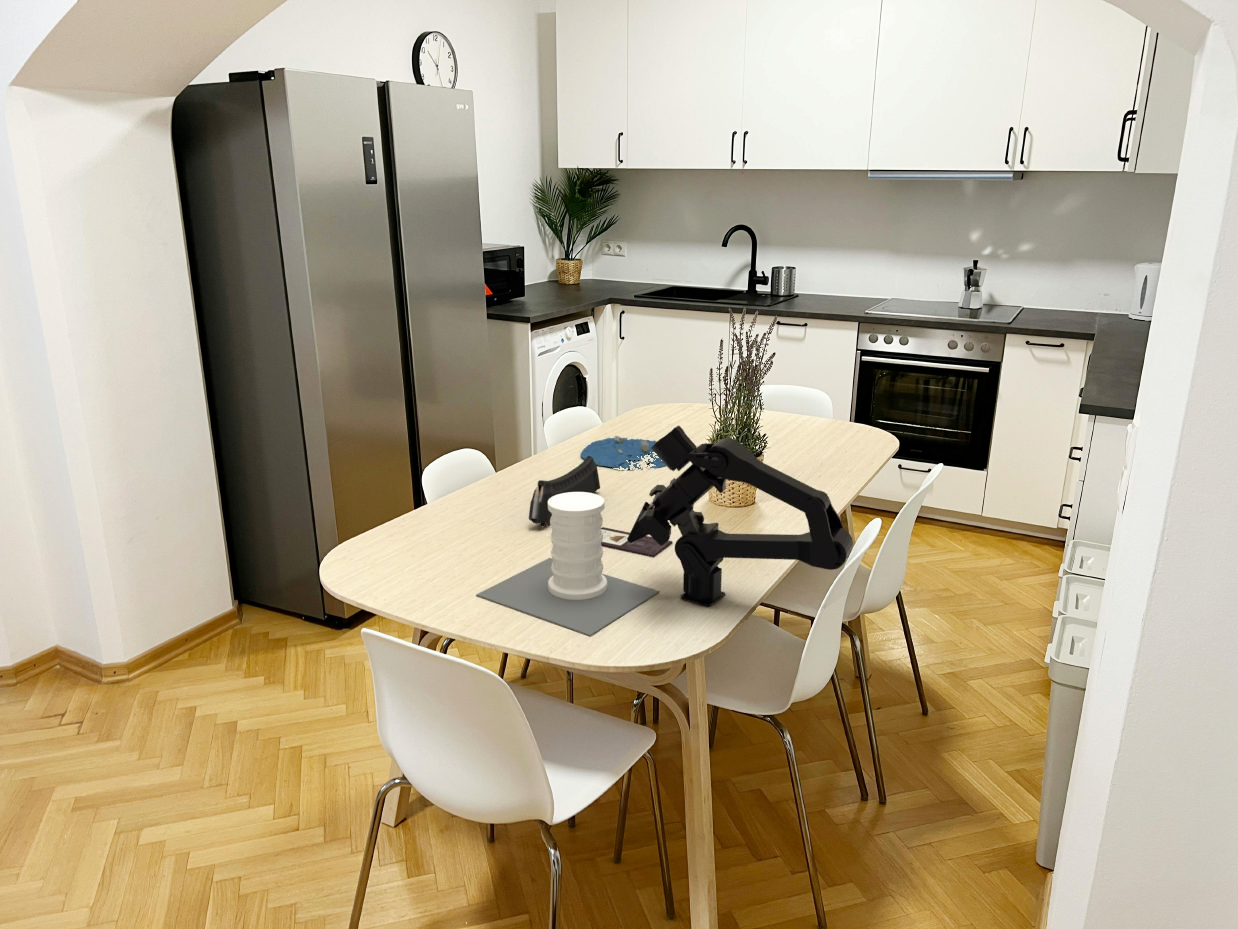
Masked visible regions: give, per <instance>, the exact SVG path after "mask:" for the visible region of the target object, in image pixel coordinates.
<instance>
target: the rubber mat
mask: <svg viewBox="0 0 1238 929" xmlns="http://www.w3.org/2000/svg"><path fill="white" fill-rule="evenodd" d="M552 563H553V558H552V557H549V558H547V559H544V560H543V561H540V562H538V563H536V564H534V565H532V566H530V567H528V568H526V569H525V570H522V571H520V572H518V573H516V574H514V575H512V576H511V577H509V578H506V579H504V580H502V581H501V582H498V583H497V584H494V585H493V586H490V587H489V588H487V589H485V590H482V591H480V592H479V593H478V592H477V593H476V594H475V596H476V597H478V598H481V599H483V600H487V601H490V602H492V603H495V604H498V605H501V606H502V607H506V608H509V609H512V610H515V611H517V612H520V613H523V614H526V615H527V616H528V615H529V616H531V617H535V618H538V619H541V620H543V621H546V622H548V623H551V624H553V625H557V626H560V627H562V628H566V629H568V630H571V631H573V632H577V633H578V634H579V633H580V634H582V635H586V636H587V637H592V636H593V635H595V634H596V633H598V632H600V631H602V630H603V629H604V628H606V627H608V626H609V625H611V624H612V623H614V622H616V621H617V620H619V619H620V618H622V617H623V616H625V615H627V614H628V613H629V612H631V611H633V610H634V609H636V608H637V607H639V606H641V605H642V604H644V603H645V602H648V600H650V599H652V598H653V597H655V596H656V595H658V594H660V590H657V589H653V588H650V587H649V586H648V587H647V586H644V585H642V584H639V583H638V584H637V583H635V582H631V581H628V580H625V579H620V578H618V577H615V576H611V575H608V574H606V573H603V572H602V573H601V574H602V575H604V576H605V577H606V579H607V589H606V591H605V592H604V593H603V594H601V595H599V596H597V597H594V598H591V599H586V600H567V599H562V598H559V597H556V596H554V595H552V594H551V593H550V592H549V589H548V581H549V579H550V578H551V577H552V576H553V573H552V569H551V566H552Z"/></svg>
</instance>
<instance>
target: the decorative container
mask: <svg viewBox="0 0 1238 929" xmlns="http://www.w3.org/2000/svg"><path fill="white" fill-rule="evenodd" d="M605 502H606V501H605V499H604V497H602V496H601V495H598V494H597V493H594V494H593V493H587V492H568V493H562V494H558V495H555V496H553V497H551V498H550V499H549V500H548V510H549V511H550V512H551V513H552V516H551V519H550V521H549V524H550V526H551V529H552V530H551V533H550V542H551V544H552V547H551V550H550V555H551V558H552V559H553V563H552V566H551V569H552V573H553V576H552V577H551V578H550V579H549V581H548V589H549V592H550V593H551V594H552V595H554V596H556V597H559V598H562V599H567V600H586V599H591V598H594V597H597V596H599V595H601V594H603V593H604V592H605V591H606V589H607V579H606V577H605V576H604V575H602V574H603V571H604V564H603V560H602V558H603V554H604V549H603V548H604V547H602V546H601V542H602V540H603V534H602V531H601V528H602V527H603V522H604V520H603V519H604V518H603V516H602V512H603V511H604V510H605V507H606V504H605ZM601 573H602V574H601Z"/></svg>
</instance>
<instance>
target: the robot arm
mask: <svg viewBox="0 0 1238 929" xmlns="http://www.w3.org/2000/svg"><path fill="white" fill-rule="evenodd" d="M651 449H652V450H653V451H654V452H655V453H656V454H657V456H658V457H659V458H660V459H661V460H662V461H663V462H664V464H665V465H666V466H665V467H667V468H668V469H669V470H670V471H672V472H675V471H678V472H680V471H682V469H684V468H685V467H686V466H687V465H688V464H690V463H691V465H690V466H689V467H687V468H686V469H685V470H684V471H683V472H682V473H681V474H680V475H678V477H676V478H675V477H673V479H671V480H670V481H669V484H668V485H667V486H665V485H664V484H656V485H655V486H654V487H653V488H652V489H651V490H649V495H648V496H650V498H651V497H653V496H654V497H653V499H652V501H650V503H649V502H648V501H645V502H644V504H643V505H642V508H641V509H640V511H639V514H638V516H637V518H636V520H635V521H634V525H633V526H632V529H631V530H630V532H629V533H630V534H629V536H628V538H627V540H628V541H629V542H630V543H632V542H635V541H637V540H639V539H641V538H643V537H645V536H649V537H652V538H653V539H654V540H655V541H656V542H657V543H658V544H659V545H661V546H662V545H663V544H665V543H666V542H667V541H670V537H671V534H672V526H673V527H674V528H675V527H676V526H677V527H678V531H679V532H680V535H681V536H680V537H679V538H677V540H676V541H675V544H674V552H675V555H676V556H677V559H678V560H679V561H680V563H681V567H682V569H683V577H682V578H683V582H682V583H683V584H682V590H683V592H684V593H682V594H681V595H680V599H682V600H685V601H688V602H691V603H694V604H698V605H701V606H703V607H711V606H712V605H714V604H715V603H716V602H718V601H719V600H721V599H722V598H723V596H724V597H725V596H726V592H724V591H722V576H723V575H722V573H723V572H722V571H723V568H721V567H719V565H720V564H721V563H722V562H723V560H724V559H727V558H728V559H751V560H752V559H754V560H755V559H756V560H757V559H758V560H788V561H789V560H790V561H792V560H793V561H799V562H801V563H804V564H806V565H808V566H810V567H813V568H818V569H823V570H829V571H833V570H838V569H840V568H841V567H842V566H843V565H844V564H845V563H846V561H847V559H848V557H849V555H850V553H851V552H852V550H853V547H854V540H853V537H852V536H851V534H850V533H849V532H848V531H847V530H846V528H845V527H844V524H843V522H842V519H841V517H840V516H839V514H838V513H837V511H836V509H835V508H834V506H833V505H832V502H831V499H830V496H828V494H827V492H825V491H822V490H819V489H816V488H814V487H813V486H810V485H808V484H807V483H804V482H802V481H800V480H798V479H796V478H794V477H792V476H790V475H788V474H786V473H784V472H782V471H780V470H778V469H777V468H775V467H773V466H770V465H769V464H767V463H765V462H762V461H761V460H759V459H758V458H757V457H756V456H755V455H754V454H753V453H752V451H751V450H750V449H748V448H747V447H746V446H745V445H743V444H742V443H740V442H739V441H737V440H736V439H733V438H730V437H726V438H725V437H724V438H721V439H720V440H718V441H717V442H712V443H711V442H710V443H709V442H708V443H707V442H706V443H700V444H699V445H698V446H697V445H696V444H695V443H694V442H693V441H692V440H691V438H690V437H689V436H688V435H687V434H686V432H685V430H684V429H683V428H682V426H680V425H676V426H675V427H674V428H673V429H672V430H671V431H669V432H668V433H667V434H666V435H664V436H663V437H661V438H659V439H658V440H657V441H656V443H655V444H654V445H653V446H652V447H651ZM727 480H728V481H730V482H731V481H732V482H739V483H740V482H741V483H744V484H746V485H747V484H748V485H750V486H752V487H753V488H755V489H758V490H760V491H761V492H762V493H765V494H767V495H769V496H771V497H773V498H775V499H777V500H779V501H782V502H783V503H785V504H787V505H789V506H791V507H793V508H795V509H796V510H799V511H801V512H802V513H804V515H805V517H806V519H807V525H808V529H809V531H808V532H805V533H801V534H778V533H777V534H776V533H774V534H773V533H772V534H771V533H770V534H769V533H768V534H767V533H728V532H724V531H722V530H720V529H719V522H711V523H710V522H709V523H705V517H704V514H703V512H702V511H695V509H694V505H695V504H696V503H697V502H698V501H700V499H701V498H703V497H704V496H705V495H706V494H707V493H708V492H709V491H711V489H713V488H715V490H716V491H717V492H718V493H720V494H722V493H723V492H724V491H726V490H727Z"/></svg>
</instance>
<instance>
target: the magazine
mask: <svg viewBox="0 0 1238 929" xmlns="http://www.w3.org/2000/svg"><path fill="white" fill-rule="evenodd" d="M600 489H601V484H600V477H599V471H598V465H596V464H595V462H594V460H593V457H591V456H587V457H586V459H585V460H584V459H583V461H582V462H581V463H580V464H579V465H577V466H576V467H575V468H573V469H571V470H570V471H569V472H567V473H565V474H564V475H561V476H558V477H556V478H553V479H550V480H543V479H539V480H538V481H537V486H536V488H535V489H534V491H533V493H532V498H531V500H530V504H529V511H528V520H529V521H531V522H532V523H533V524H540V525H539V526H540V527H542V526H545V527H546V523H550V519H551V516H552V513H551V512H550V511H549V510H548V500H549V499H550V498H551V497H553V496H555V495H558V494H562V493H568V492H587V493H593V494H596V492H597V491H598V490H600Z"/></svg>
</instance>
